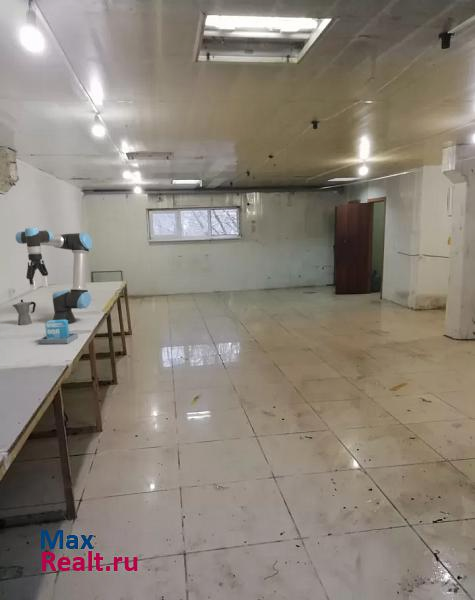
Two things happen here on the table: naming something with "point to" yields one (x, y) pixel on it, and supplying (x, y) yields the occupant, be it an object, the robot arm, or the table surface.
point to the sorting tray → (58, 340)
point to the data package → (57, 329)
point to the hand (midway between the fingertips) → (39, 287)
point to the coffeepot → (24, 312)
